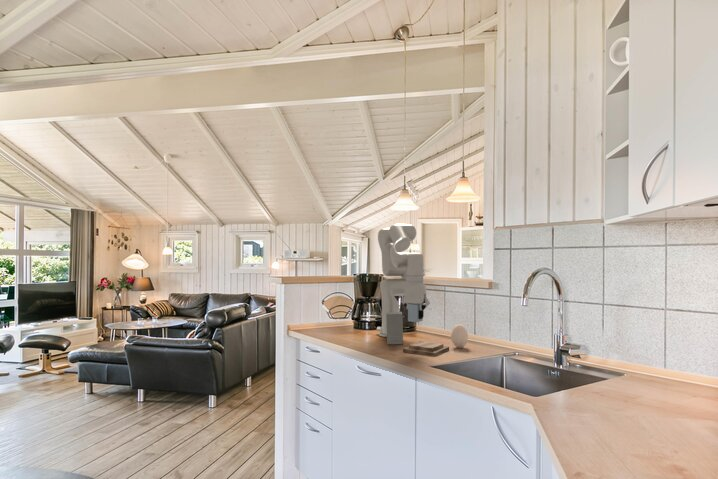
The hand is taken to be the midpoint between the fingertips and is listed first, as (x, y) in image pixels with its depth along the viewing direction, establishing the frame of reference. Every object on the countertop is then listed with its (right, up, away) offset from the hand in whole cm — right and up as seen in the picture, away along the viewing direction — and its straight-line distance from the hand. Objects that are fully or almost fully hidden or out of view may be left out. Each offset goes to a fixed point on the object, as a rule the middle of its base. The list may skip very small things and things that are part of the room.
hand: (415, 317), depth 207 cm
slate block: (0, -2, 0) cm, 2 cm away
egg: (+22, -16, +7) cm, 28 cm away
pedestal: (+5, -15, -1) cm, 16 cm away
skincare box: (-8, -16, +17) cm, 25 cm away
